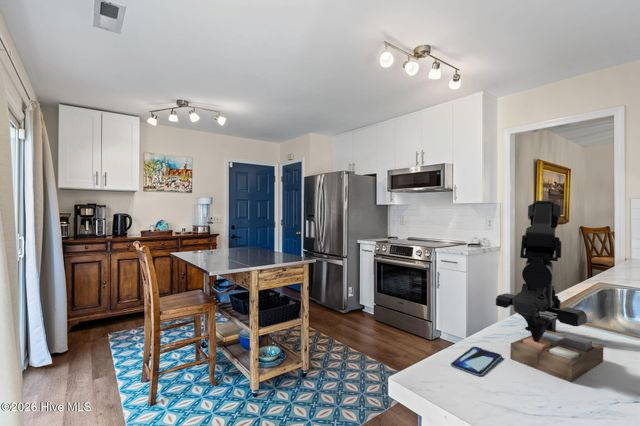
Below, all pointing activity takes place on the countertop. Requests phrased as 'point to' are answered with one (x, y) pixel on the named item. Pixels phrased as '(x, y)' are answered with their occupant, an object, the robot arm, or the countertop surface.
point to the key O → (578, 343)
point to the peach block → (537, 343)
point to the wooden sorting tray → (557, 358)
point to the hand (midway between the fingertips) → (536, 341)
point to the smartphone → (476, 361)
